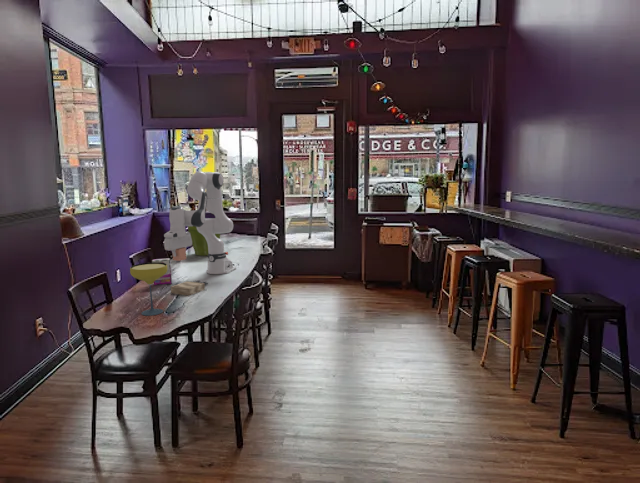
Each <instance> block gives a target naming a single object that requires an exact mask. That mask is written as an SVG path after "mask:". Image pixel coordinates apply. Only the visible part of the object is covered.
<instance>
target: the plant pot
mask: <svg viewBox="0 0 640 483" xmlns="http://www.w3.org/2000/svg"><path fill="white" fill-rule="evenodd" d="M187 229H188V232H190V235H191V239H192V245H191V246H192V247H193V250H194V255H195V256H201V257H202V256H203V257H204V256H205V257H206V256H207V257H208V244H207V241H206V239H205V237H204V236H203V235H202V234H201V233H199V232H198V230H197V228H196V227H195V226H187ZM215 236H216V237H217V238H219V239H221V234H215Z"/></svg>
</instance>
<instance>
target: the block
mask: <svg viewBox="0 0 640 483" xmlns="http://www.w3.org/2000/svg"><path fill="white" fill-rule="evenodd" d="M186 248H187V247H186ZM186 248H179V249H176V251H175V252H176V253H177V256H176V257H174V256H173V255H172V261H177V262H182V261H184V260H187V249H186Z"/></svg>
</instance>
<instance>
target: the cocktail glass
mask: <svg viewBox="0 0 640 483" xmlns="http://www.w3.org/2000/svg"><path fill="white" fill-rule="evenodd" d="M129 272H130V275H131V276H132V277H133V278H134V279H137V280H139V281H142V282H145V283H146V284H147V285H148V286H149V295H150V309H145V310H143V311H141V313H140V314H141V315H142V316H146V317H151V316H157V315H160V314H163V313H164V309H161V308H154V305H153V295H152V285H154V281H155V280H157V279H158V278H160V277H162V276H163V275H165V274H166V272H167V264H166V263H161V262H152V261H151V262H141V263H138V264H134V265H132V266H130V267H129Z"/></svg>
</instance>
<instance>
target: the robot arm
mask: <svg viewBox="0 0 640 483" xmlns="http://www.w3.org/2000/svg"><path fill="white" fill-rule="evenodd" d="M224 179H225V178H224V176H223V174H222V173H221V172H216V171H214V172H212V171H206V172H203V171H198V170H197V171H196V172H194V174H193V175H192V176H191V178H190V180H189V182H188V184H187V187H186V192H187V194H188V197H190V198H191V199H193V200H195V201H198V203H197V209H194V210H186V209H185V208H184V207H183V206H182V205H176V206H175V205H174V206H171V208H169V223H170V225H169V226H170V227H169V228H170V230H169V231H167V232H166V233H164V234H163V237H164V239H163V240H164V241H163V242H164V244H163V245H164V250H165V251H171V252H172V257H173V256H174V257H176V256H177V253H176V252H175V251H176V249H179V248H186V250H187V248H188V247H192V246H193V245H192V239H191V235H190V232H189V230H188V231H186V227H188V226H195V227H196V228H197V230H198V232H199V233H201V234H202V235H203V236H204V237H205V239H206V241H207V244H208V256H207V258H208V260H207V266H206V268H207V269H206V272H207V274H208V275H210V274H211V275H221V274H229V273H231V272H232V271H235V270H236V269H237V267H236V266H234V265H233V261H232V260H231V259H229V258H228V257H227V255H229V251H225V243H224V241H223V240H222V239H221V238H220V239H219V238H217V237H216V236H215V234H220V235H222V234H228V233H231V232H232V231H233V229H234V222H233V220H232V219H231V218H229V217H228V216H227V214H226V213H225V211H224V208H223V199H222V198H223V193H222V186H224V185H223V184H224ZM206 211H207V212H208V213H210V214H212V215H214V217H215V218H211V217H210V218H209V217H208V218H206Z"/></svg>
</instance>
